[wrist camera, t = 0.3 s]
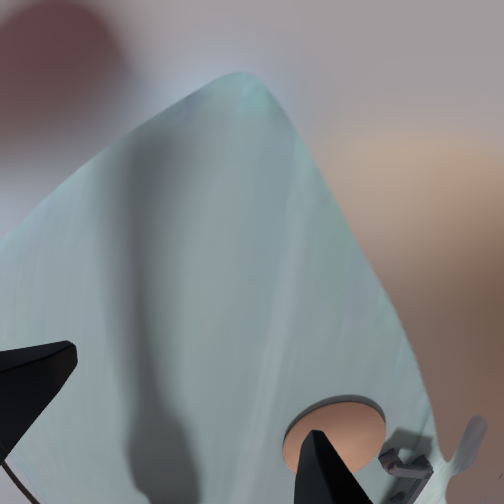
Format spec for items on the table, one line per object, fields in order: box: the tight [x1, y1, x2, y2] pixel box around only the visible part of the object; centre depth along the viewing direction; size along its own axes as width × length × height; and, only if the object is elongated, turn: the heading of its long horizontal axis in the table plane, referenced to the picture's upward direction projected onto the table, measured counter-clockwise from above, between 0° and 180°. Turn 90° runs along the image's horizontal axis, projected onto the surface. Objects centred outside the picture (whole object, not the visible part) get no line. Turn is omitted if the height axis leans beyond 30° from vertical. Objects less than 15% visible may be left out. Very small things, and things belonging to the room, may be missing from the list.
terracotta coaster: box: [283, 401, 386, 473], centre depth 22 cm, size 11×11×1 cm
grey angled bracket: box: [378, 448, 434, 504], centre depth 20 cm, size 7×13×3 cm, turn 36°
